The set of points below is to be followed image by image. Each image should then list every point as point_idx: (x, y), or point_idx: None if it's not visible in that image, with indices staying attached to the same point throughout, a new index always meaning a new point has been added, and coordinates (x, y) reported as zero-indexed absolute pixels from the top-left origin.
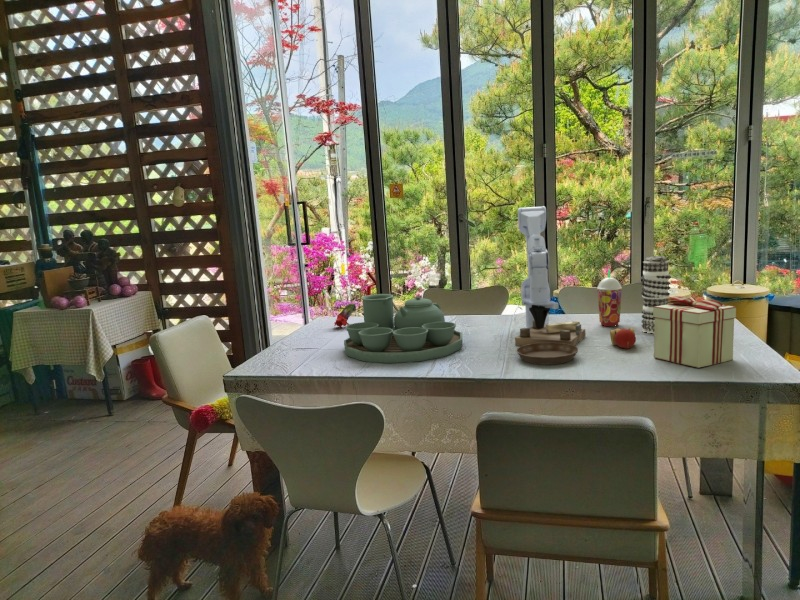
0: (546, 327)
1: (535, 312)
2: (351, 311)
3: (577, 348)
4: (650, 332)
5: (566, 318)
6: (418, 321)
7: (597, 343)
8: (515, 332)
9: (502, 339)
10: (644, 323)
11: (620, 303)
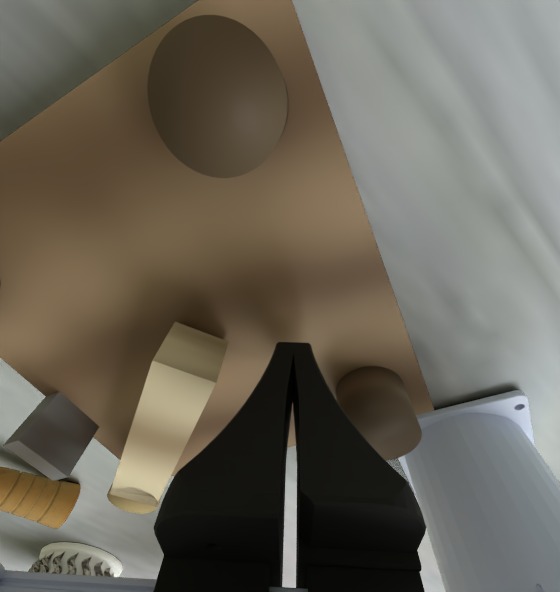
0: (208, 360)
1: (280, 457)
2: None
3: None
4: (58, 547)
5: (440, 577)
6: None
7: (8, 388)
8: (541, 335)
9: (540, 95)
10: None
11: None
